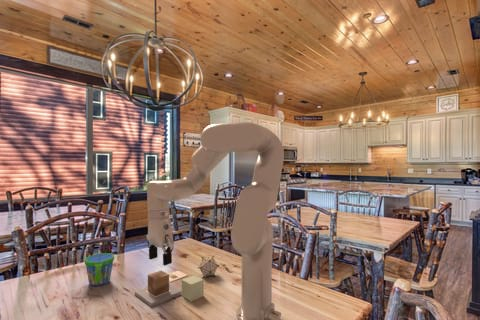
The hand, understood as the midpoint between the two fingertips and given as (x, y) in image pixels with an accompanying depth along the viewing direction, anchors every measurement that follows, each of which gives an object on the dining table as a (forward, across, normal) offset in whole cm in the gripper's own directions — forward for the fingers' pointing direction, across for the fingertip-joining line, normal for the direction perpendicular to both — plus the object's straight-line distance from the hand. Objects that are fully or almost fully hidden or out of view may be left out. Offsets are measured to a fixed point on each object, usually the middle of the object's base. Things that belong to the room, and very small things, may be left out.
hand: (160, 261), depth 99 cm
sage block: (+13, -9, -8) cm, 17 cm away
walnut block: (+11, +1, 0) cm, 11 cm away
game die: (+13, 0, -22) cm, 26 cm away
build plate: (+12, +1, 0) cm, 12 cm away
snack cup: (+11, +27, +12) cm, 32 cm away
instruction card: (+12, +10, -12) cm, 20 cm away
